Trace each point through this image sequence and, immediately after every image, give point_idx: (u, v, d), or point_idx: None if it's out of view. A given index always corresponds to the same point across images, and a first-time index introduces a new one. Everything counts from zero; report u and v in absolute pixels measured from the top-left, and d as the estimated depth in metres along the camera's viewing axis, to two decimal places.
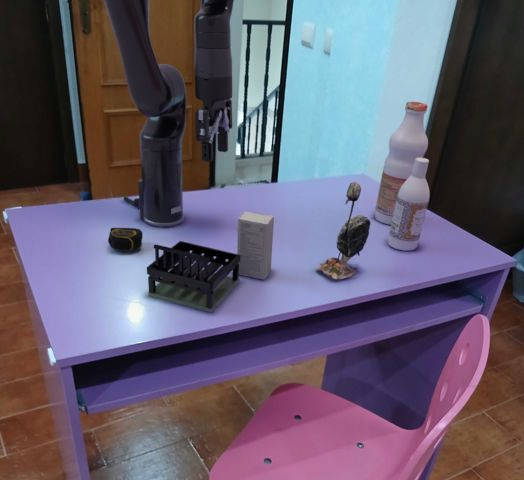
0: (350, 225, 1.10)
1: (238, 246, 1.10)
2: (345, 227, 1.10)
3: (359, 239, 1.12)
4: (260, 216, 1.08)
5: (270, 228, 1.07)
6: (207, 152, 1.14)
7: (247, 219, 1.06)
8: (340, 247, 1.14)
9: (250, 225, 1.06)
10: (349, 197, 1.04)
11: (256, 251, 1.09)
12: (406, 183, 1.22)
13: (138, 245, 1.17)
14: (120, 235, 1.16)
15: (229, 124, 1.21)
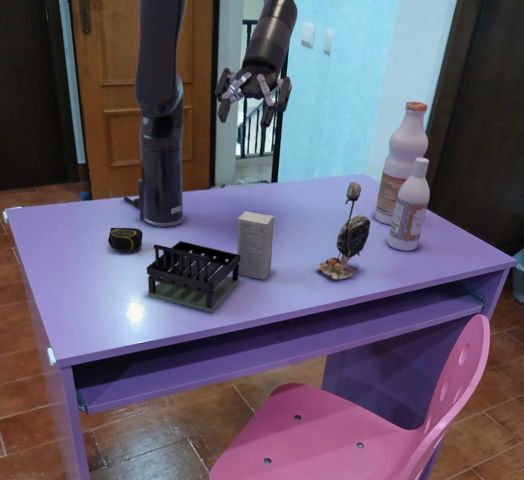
0: (350, 225, 1.10)
1: (238, 246, 1.10)
2: (345, 227, 1.10)
3: (359, 239, 1.12)
4: (260, 216, 1.08)
5: (270, 228, 1.07)
6: (271, 120, 1.06)
7: (247, 219, 1.06)
8: (340, 247, 1.14)
9: (250, 225, 1.06)
10: (349, 197, 1.04)
11: (256, 251, 1.09)
12: (406, 183, 1.22)
13: (138, 245, 1.17)
14: (120, 235, 1.16)
15: None
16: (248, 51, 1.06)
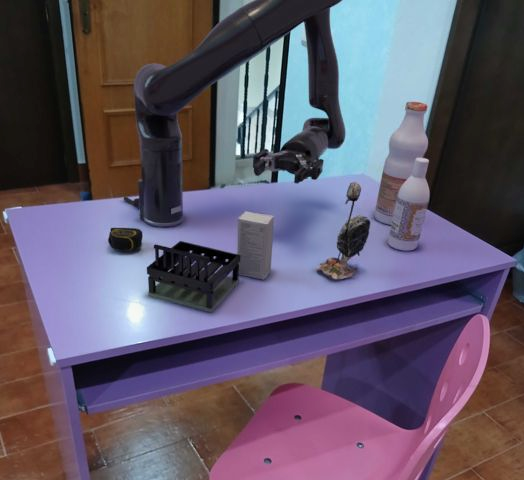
0: (350, 225, 1.10)
1: (238, 246, 1.10)
2: (345, 227, 1.10)
3: (359, 239, 1.12)
4: (260, 216, 1.08)
5: (270, 228, 1.07)
6: (304, 178, 1.12)
7: (247, 219, 1.06)
8: (340, 247, 1.14)
9: (250, 225, 1.06)
10: (349, 197, 1.04)
11: (256, 251, 1.09)
12: (406, 183, 1.22)
13: (138, 245, 1.17)
14: (120, 235, 1.16)
15: None
16: (289, 140, 1.20)
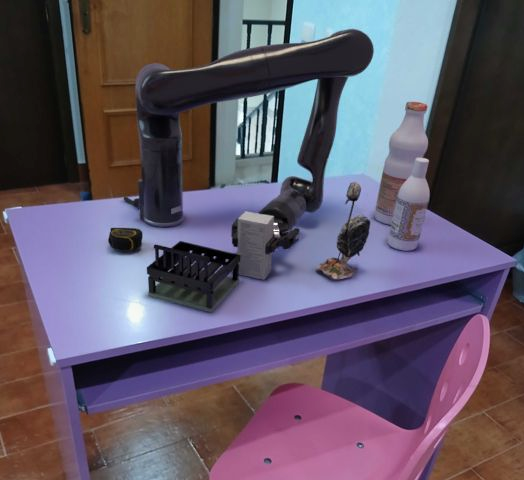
0: (350, 225, 1.10)
1: (238, 246, 1.10)
2: (345, 227, 1.10)
3: (359, 239, 1.12)
4: (260, 216, 1.08)
5: (270, 228, 1.07)
6: (275, 249, 1.09)
7: (247, 219, 1.06)
8: (340, 247, 1.14)
9: (250, 225, 1.06)
10: (349, 197, 1.04)
11: (256, 251, 1.09)
12: (406, 183, 1.22)
13: (138, 245, 1.17)
14: (120, 235, 1.16)
15: None
16: (265, 206, 1.18)
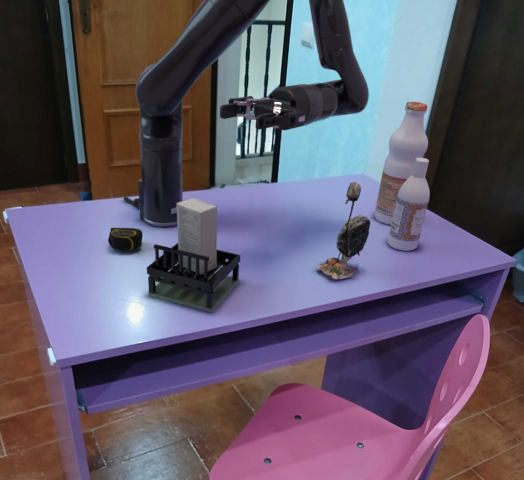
0: (350, 225, 1.10)
1: (178, 234, 1.01)
2: (345, 227, 1.10)
3: (359, 239, 1.12)
4: (202, 204, 0.98)
5: (208, 218, 0.97)
6: (269, 125, 0.96)
7: (185, 205, 0.97)
8: (340, 247, 1.14)
9: (186, 211, 0.97)
10: (349, 197, 1.04)
11: (193, 241, 0.99)
12: (406, 183, 1.22)
13: (138, 245, 1.17)
14: (120, 235, 1.16)
15: None
16: None
